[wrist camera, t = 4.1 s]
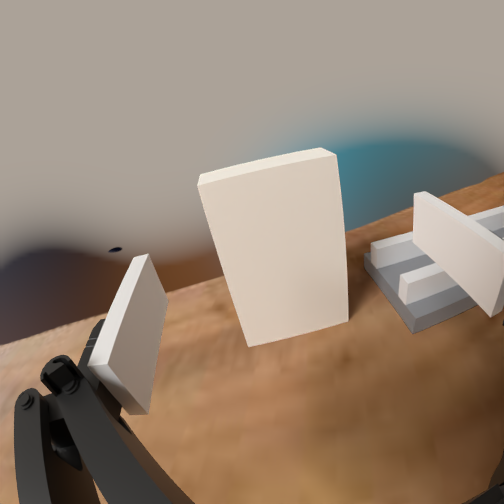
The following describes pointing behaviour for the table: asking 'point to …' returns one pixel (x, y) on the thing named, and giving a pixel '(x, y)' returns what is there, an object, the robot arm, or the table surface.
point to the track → (422, 277)
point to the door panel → (280, 242)
